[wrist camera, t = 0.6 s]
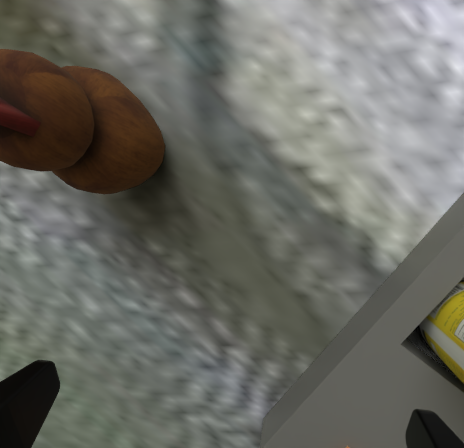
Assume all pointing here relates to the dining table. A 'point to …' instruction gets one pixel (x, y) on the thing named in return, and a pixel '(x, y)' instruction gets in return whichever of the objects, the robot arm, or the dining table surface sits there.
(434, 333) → the supplement bottle
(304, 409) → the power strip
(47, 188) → the dining table surface
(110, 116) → the wooden figurine
